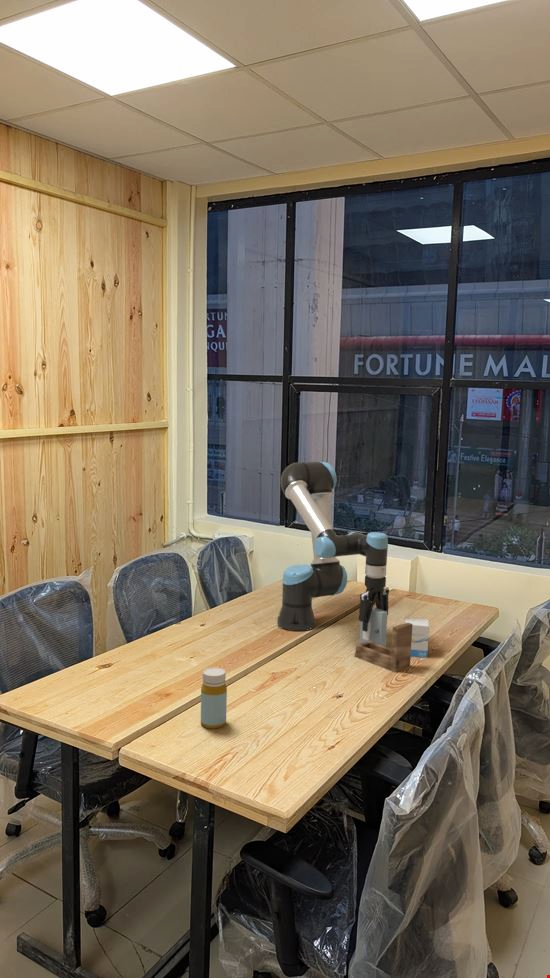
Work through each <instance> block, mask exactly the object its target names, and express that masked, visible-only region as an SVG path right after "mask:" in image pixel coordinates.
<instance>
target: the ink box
mask: <svg viewBox="0 0 550 978" xmlns="http://www.w3.org/2000/svg"><path fill="white" fill-rule="evenodd" d="M429 620H430V619H427V618H419V617H405V620H404V623H411V624H412V642H411V657H417V658H428V653H429V652H428V651H429V636H430V635H429V633H430V621H429Z"/></svg>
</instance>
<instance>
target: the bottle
mask: <svg viewBox="0 0 550 978" xmlns="http://www.w3.org/2000/svg"><path fill="white" fill-rule="evenodd" d="M226 674H227V673H226V669H224V668H222V667H215V666H214V667H207V668H205V669H204V670H203V671H202V684H201V687H200V724H201V725H202V726H203V727H204V728H206V729H209V730H213V729H214V730H217V729H220V728H223V727H224V726H225V724H226V723H227V700H228V699H227V698H228V696H227V695H228V694H227V693H228V689H227V687H228V686H227V684H226V679H227V678H226V677H227V676H226Z"/></svg>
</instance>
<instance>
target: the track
mask: <svg viewBox="0 0 550 978" xmlns="http://www.w3.org/2000/svg"><path fill="white" fill-rule="evenodd" d="M391 633H392V636H391V648H390V647H385V646H382V645H379V644H376V643H374V642H371V641H368V642H364V643H361V644H360V643H358V644H356V645H355V653H354V657H355V658H357V659H360V660H362V661H365V662H367V663H370V664H372V665H375V666H378V667H380V668H383V669H385V670H388V671H391V672H393V673H397V672H400V671H403V670H405V669H408V668H410V667H411V657H412V656H411V642H412V624H411V623H405V622H404V623H402V624H399V625H396V626H393V627H392V632H391Z"/></svg>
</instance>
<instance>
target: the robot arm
mask: <svg viewBox="0 0 550 978" xmlns="http://www.w3.org/2000/svg"><path fill="white" fill-rule="evenodd" d="M337 480H338V479H337V474H336V470H335V468H334V467H333V466H332V465H331V464H330V463H329V462H326V461H325V462H324V461H307V462H300V461H299V462H293V463H291V464H289V465H287V466H286V467H285V468H284V470H283V472H282V473H281V477H280V487H281V491H282V492H283V494H284V496H285V498H286V499H288V500H290V501H291V502H292V504H293V505H294V507H295V509H296V510H297V512H298V514H299V516H300V518H301V519H302V520H303V522H304V524H305V525H306V527H307V528H308V529H309V532H310V533H311V541H312V552H313V560H312V561H311V562H310V565H309V564H295V565H291V566H288V567H286V568H285V570H284V571H283V574H282V580H281V581H282V593H281V594H282V598H281V600H282V602H281V603H282V605H281V608H280V611H279V614H278V616H277V619H276V621H277V622H276V623H277V624H278V625H277V624H276V625H277V627H279V626H280V627H282V628H285V629H289V630H288V631H291V630H306V631H308V630H307V629H310V628H313V627H314V628H315V627H316V623H317V622H316V618H315V615H314V610H313V599H315V598H322V597H330V596H331V597H332V596H336V595H339V594H341V593H343V592H344V590H345V589H346V587H347V583H348V572H347V570H346V568H345V567H344V566H343V565H341V562H340V559H338V557H344V556H345V557H346V556H355V555H359V556H362V557H365V567H364V569H365V571H364V574H365V576H364V586H365V587H366V589H365V593H360V594H359V599H360V601H359V612H358V621H359V622H360V621H362V622H363V627H362V630H363V639H365V640H368V641H369V640H370V622H369V620H370V616H371V612H372V608H373V607H374V606H375V608H377V609H380V610H383V611H387V617H388V616H389V593H390V590H389V589H387V588H385V587H386V583H387V577H386V576H387V563H388V551H389V550H388V549H389V548H388V547H389V545H388V544H389V543H388V541H389V539H388V535H387V534H386V533H384V532H378V531H375V532H374V531H373V532H372V531H371V532H368V533H367V534H363V533H361V532H357V531H351V532H349V533H347V534H343V535H342V534H340V535H337V533H336V532H335V530H334V529H333V523H332V515H331V513H332V512H331V507H330V497H331V496H332V494H333V490H334V489H335V488H336V486H337V483H338V482H337ZM280 627H279V628H280ZM282 628H281V629H282ZM314 628H313V629H314ZM285 629H284V630H285ZM310 630H311V629H310Z"/></svg>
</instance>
